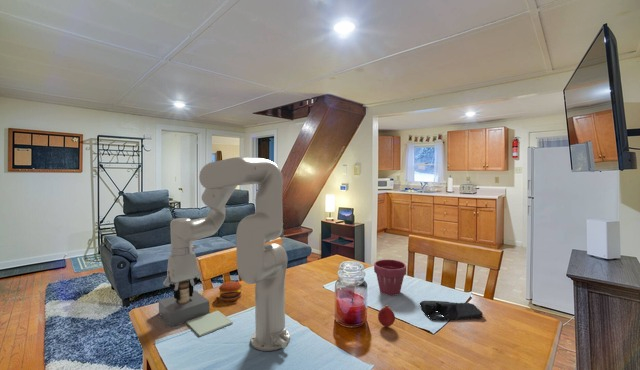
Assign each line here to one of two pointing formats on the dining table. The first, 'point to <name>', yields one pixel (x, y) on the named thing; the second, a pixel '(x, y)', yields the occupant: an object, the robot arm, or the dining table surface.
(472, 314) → the black pouch
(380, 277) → the plant pot
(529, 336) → the dining table surface
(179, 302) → the plug
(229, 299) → the hamburger
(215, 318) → the coaster
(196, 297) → the socket block
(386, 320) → the onion
